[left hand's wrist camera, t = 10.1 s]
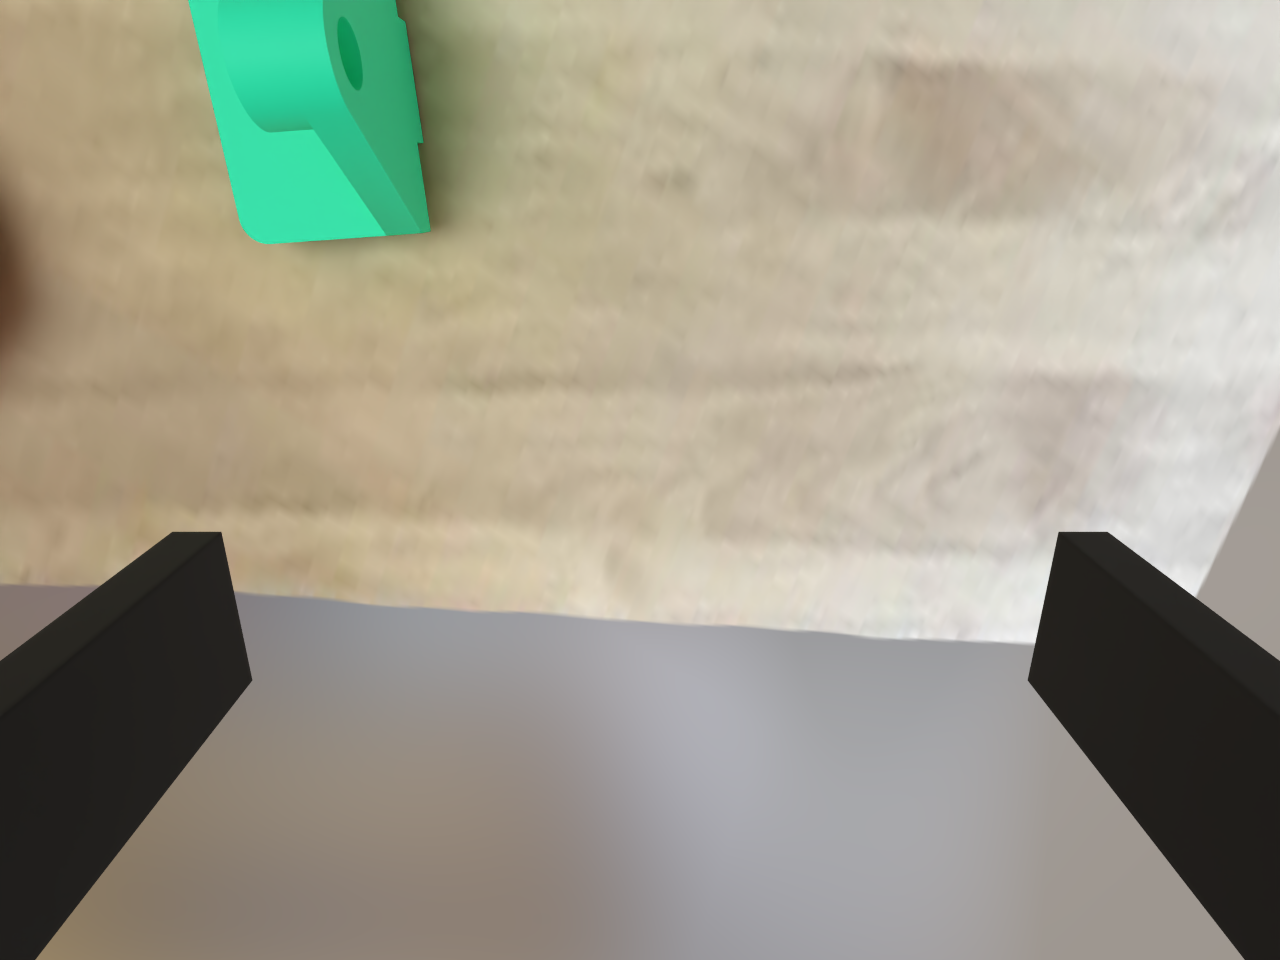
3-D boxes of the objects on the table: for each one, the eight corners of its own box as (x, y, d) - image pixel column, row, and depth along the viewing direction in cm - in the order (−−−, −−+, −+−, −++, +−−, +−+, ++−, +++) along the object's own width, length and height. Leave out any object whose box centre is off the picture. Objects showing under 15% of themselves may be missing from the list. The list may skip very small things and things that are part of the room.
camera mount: (204, -65, 32) (17, -176, 22) (390, -80, 32) (282, -198, 22) (271, 241, 36) (138, 260, 26) (436, 230, 36) (363, 244, 26)
